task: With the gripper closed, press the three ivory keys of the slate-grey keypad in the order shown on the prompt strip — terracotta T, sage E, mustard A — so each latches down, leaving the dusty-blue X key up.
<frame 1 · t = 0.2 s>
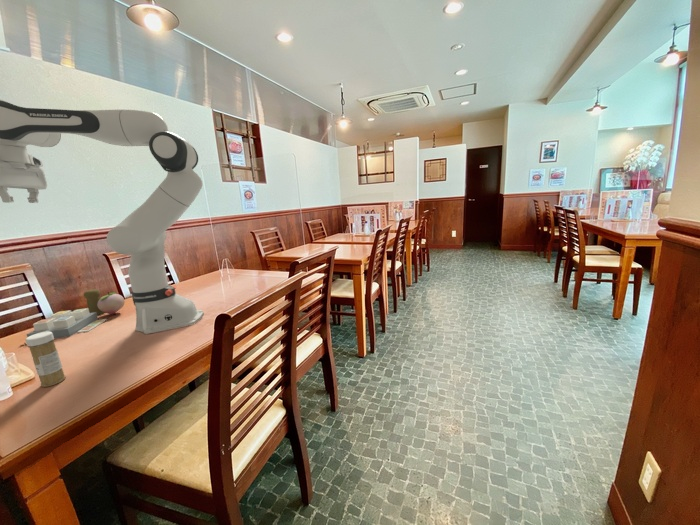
hand: (21, 202, 89), 47 cm above the table, tool pointing down, fingers open, 8 cm apart
olive green cup: (97, 314, 120), on the table
key X: (64, 322, 101), point 4 cm above the table, slide at 0.0 cm
prompt strip: (92, 326, 107), on the table
keypad board: (66, 329, 105), on the table
sprinkles bottle: (54, 382, 72), on the table
decorative fruit: (115, 314, 119), on the table
key A: (62, 316, 107), point 4 cm above the table, slide at 0.0 cm
key E: (80, 314, 109), point 4 cm above the table, slide at 0.0 cm
key T: (45, 325, 100), point 4 cm above the table, slide at 0.0 cm
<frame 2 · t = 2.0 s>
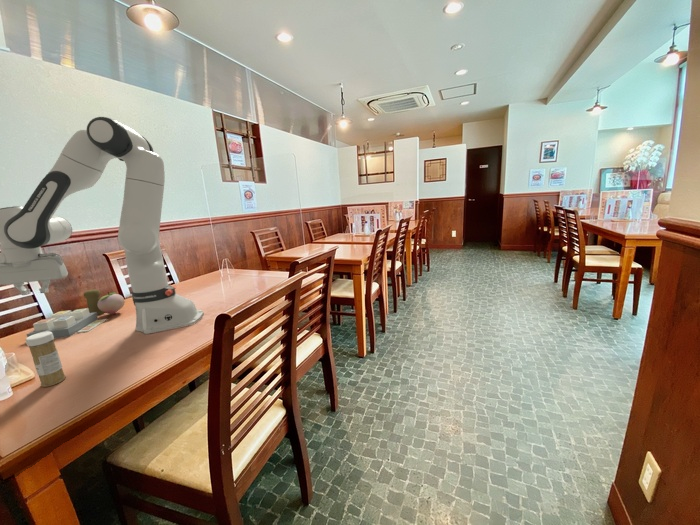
hand: (35, 293, 97), 16 cm above the table, tool pointing down, fingers open, 4 cm apart
nothing on the table moved.
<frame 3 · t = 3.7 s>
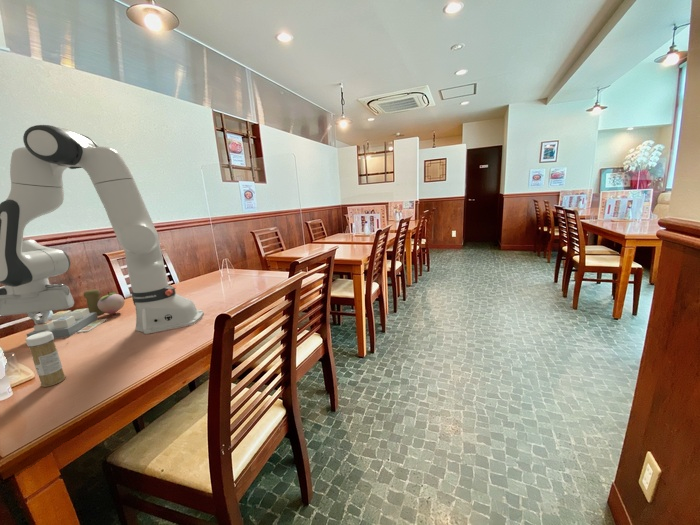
hand: (41, 323, 99), 5 cm above the table, tool pointing down, fingers closed
key T: (46, 327, 100), point 3 cm above the table, slide at 0.8 cm, touching gripper
everything else where it was.
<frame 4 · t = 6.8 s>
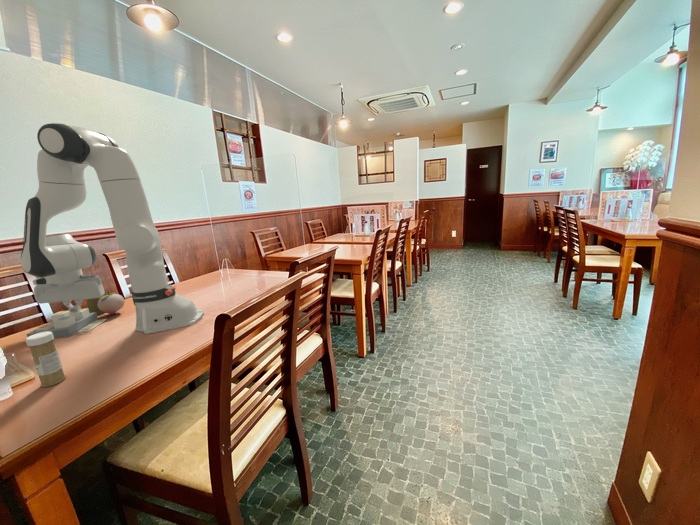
hand: (75, 310, 108), 6 cm above the table, tool pointing down, fingers closed
key E: (80, 314, 109), point 4 cm above the table, slide at 0.1 cm, touching gripper
key T: (47, 330, 100), point 2 cm above the table, slide at 2.1 cm
everything else where it was.
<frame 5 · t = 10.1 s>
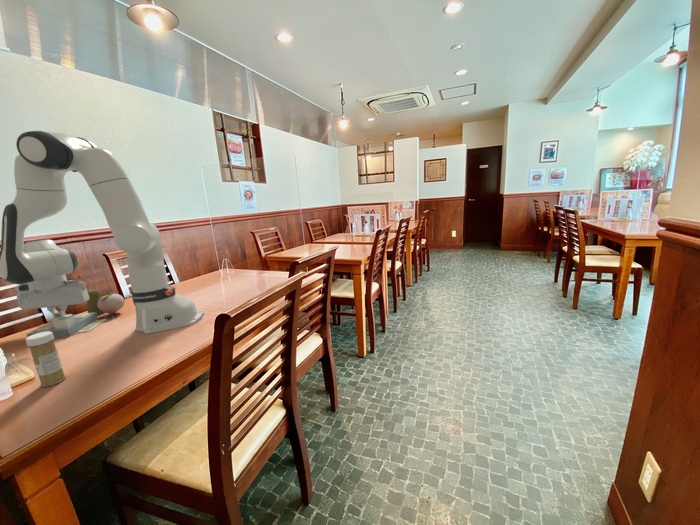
hand: (60, 316, 107), 4 cm above the table, tool pointing down, fingers closed, pressing on key A
key A: (63, 320, 108), point 2 cm above the table, slide at 1.7 cm, touching gripper
key E: (81, 319, 109), point 2 cm above the table, slide at 2.1 cm
everything else where it was.
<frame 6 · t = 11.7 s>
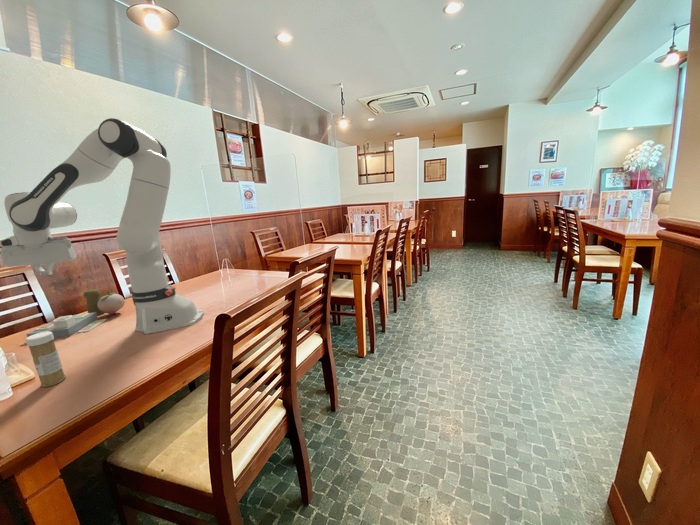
hand: (46, 275, 103), 21 cm above the table, tool pointing down, fingers closed
key A: (63, 321, 108), point 2 cm above the table, slide at 2.1 cm
everything else where it was.
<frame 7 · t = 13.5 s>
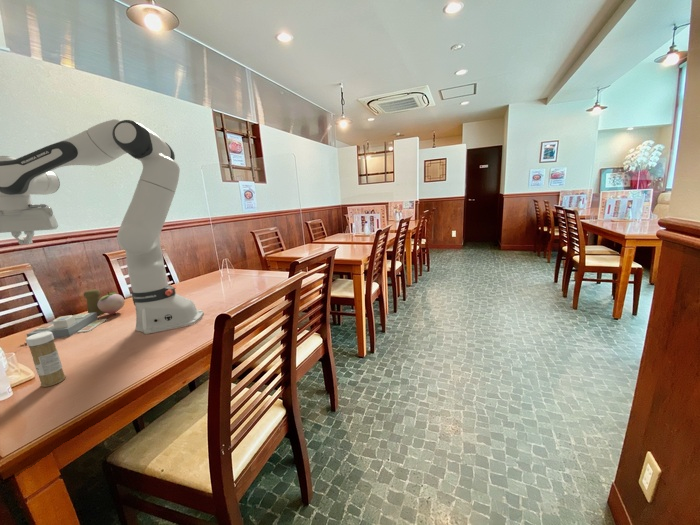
hand: (26, 244, 100), 33 cm above the table, tool pointing down, fingers closed
nothing on the table moved.
at the end: key T slide at 2.1 cm; key E slide at 2.1 cm; key A slide at 2.1 cm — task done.
